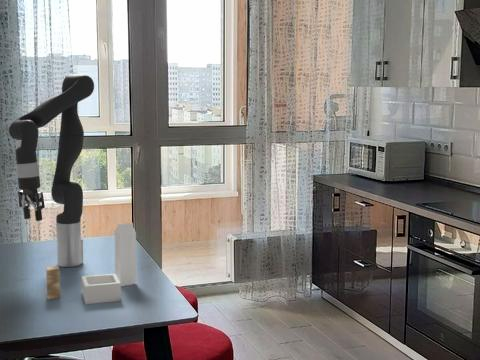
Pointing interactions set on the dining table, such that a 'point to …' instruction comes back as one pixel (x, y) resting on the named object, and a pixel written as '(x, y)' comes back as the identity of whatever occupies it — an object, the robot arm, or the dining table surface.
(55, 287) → the beech post
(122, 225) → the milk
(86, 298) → the white well
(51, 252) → the dining table surface
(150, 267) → the dining table surface
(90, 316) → the dining table surface
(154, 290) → the dining table surface
